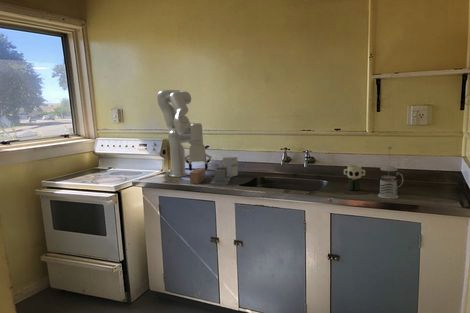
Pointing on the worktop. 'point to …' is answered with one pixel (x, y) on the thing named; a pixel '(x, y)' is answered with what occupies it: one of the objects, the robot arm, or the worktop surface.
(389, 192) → the french press
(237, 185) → the worktop surface
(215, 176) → the display stand
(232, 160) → the supplement box
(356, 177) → the big eared toy figure
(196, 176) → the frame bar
